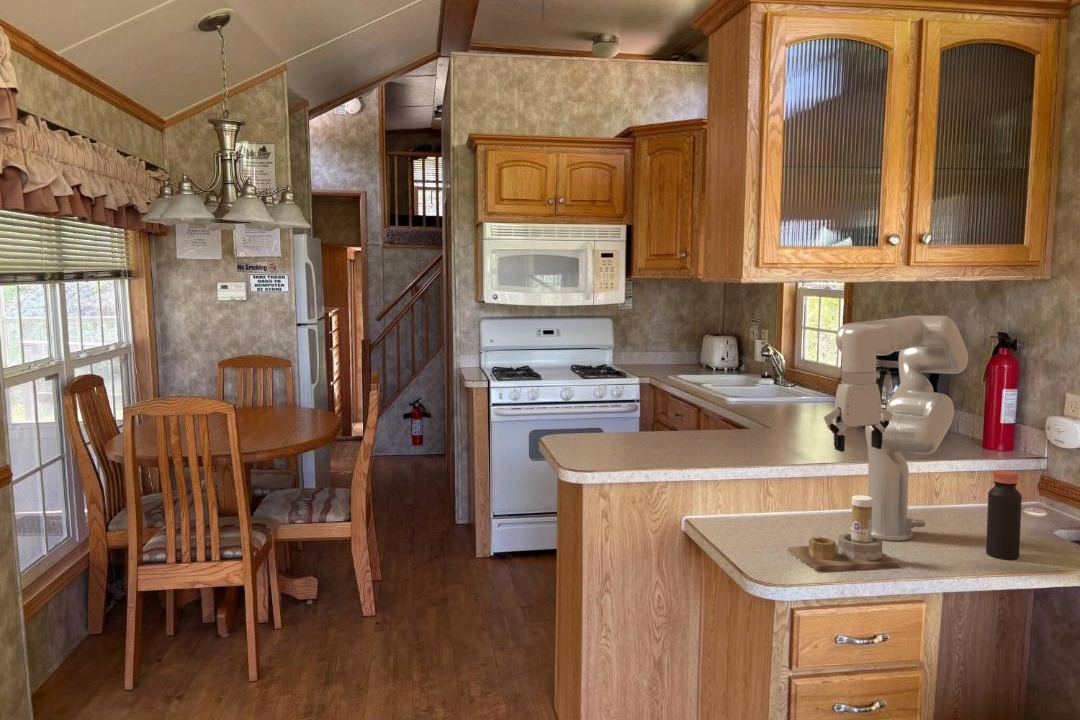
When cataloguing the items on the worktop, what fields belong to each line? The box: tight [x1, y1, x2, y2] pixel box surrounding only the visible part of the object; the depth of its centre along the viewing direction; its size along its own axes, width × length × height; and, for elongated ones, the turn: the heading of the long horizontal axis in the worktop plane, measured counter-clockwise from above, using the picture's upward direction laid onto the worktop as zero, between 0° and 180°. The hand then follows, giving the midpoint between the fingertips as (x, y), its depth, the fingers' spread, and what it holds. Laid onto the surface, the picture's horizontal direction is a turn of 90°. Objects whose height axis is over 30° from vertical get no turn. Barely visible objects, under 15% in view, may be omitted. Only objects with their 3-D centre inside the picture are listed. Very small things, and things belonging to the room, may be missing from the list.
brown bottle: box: [985, 469, 1023, 561], centre depth 181 cm, size 7×7×20 cm
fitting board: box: [787, 532, 900, 572], centre depth 179 cm, size 20×14×5 cm
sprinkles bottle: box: [850, 494, 873, 544], centre depth 180 cm, size 5×5×14 cm
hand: (858, 449), depth 185 cm, fingers open, 9 cm apart
